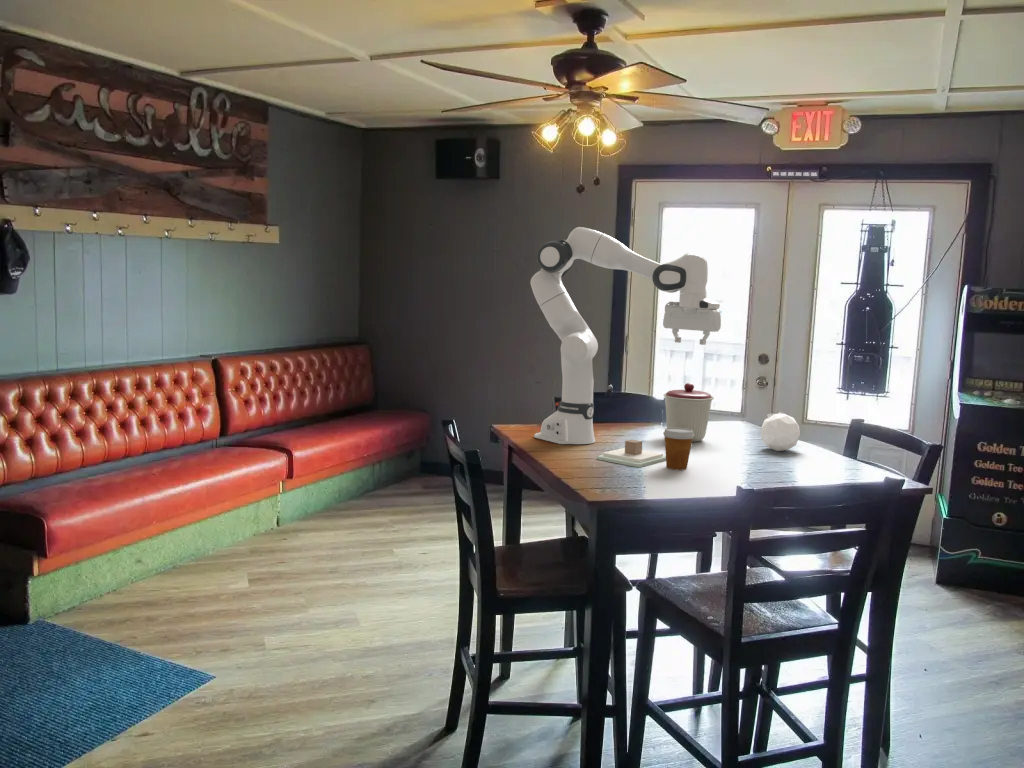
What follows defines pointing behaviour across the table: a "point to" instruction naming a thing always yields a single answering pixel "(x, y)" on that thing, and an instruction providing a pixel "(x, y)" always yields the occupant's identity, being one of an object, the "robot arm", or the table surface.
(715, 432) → the table surface
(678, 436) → the disposable coffee cup
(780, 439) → the geodesic sphere
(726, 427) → the table surface
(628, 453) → the cover
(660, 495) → the table surface
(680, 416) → the canister
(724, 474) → the table surface
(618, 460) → the mat
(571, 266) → the robot arm
